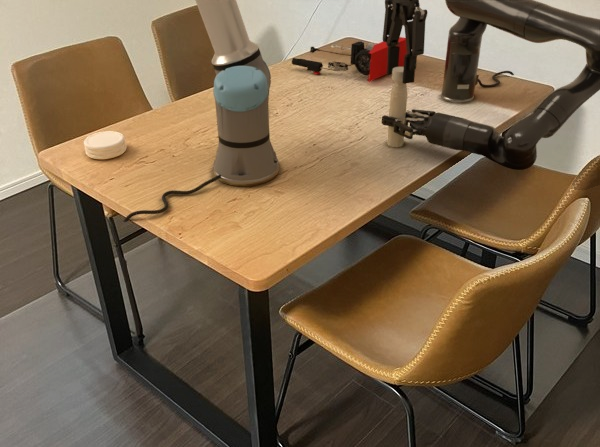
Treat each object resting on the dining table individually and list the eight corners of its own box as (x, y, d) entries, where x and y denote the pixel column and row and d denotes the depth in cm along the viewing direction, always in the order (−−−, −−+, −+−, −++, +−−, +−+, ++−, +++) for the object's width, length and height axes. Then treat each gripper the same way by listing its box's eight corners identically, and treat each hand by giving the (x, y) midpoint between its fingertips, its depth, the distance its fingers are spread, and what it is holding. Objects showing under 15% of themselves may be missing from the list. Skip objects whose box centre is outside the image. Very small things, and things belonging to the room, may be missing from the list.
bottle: (397, 148, 155) (402, 75, 145) (383, 144, 157) (388, 71, 147) (406, 143, 157) (412, 70, 147) (393, 139, 160) (398, 67, 150)
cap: (411, 78, 148) (412, 68, 147) (403, 82, 146) (403, 73, 145) (397, 74, 151) (397, 65, 149) (388, 79, 148) (389, 69, 147)
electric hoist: (290, 38, 202) (370, 53, 187) (334, 24, 221) (410, 36, 206) (290, 69, 207) (368, 86, 192) (333, 52, 226) (407, 67, 211)
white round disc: (96, 164, 150) (94, 150, 148) (79, 150, 156) (76, 138, 154) (134, 151, 155) (131, 138, 153) (115, 139, 162) (113, 127, 160)
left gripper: (370, -30, 142) (366, 68, 154) (418, -15, 127) (409, 93, 139) (398, -33, 144) (391, 64, 157) (448, -19, 130) (437, 87, 142)
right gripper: (436, 157, 144) (372, 140, 152) (461, 136, 153) (399, 120, 162) (439, 127, 140) (373, 111, 148) (465, 107, 149) (401, 93, 158)
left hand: (400, 77), depth 148 cm, fingers open, 6 cm apart
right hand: (387, 116), depth 155 cm, fingers closed on bottle, 4 cm apart
